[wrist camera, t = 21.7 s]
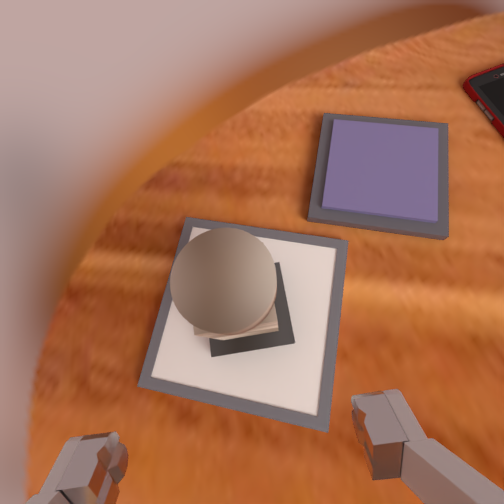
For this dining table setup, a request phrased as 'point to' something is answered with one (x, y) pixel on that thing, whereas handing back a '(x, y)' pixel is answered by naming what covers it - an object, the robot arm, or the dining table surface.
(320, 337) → the marked square
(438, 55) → the dining table surface
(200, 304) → the stamp
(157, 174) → the dining table surface
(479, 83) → the cell phone
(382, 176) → the ink pad
